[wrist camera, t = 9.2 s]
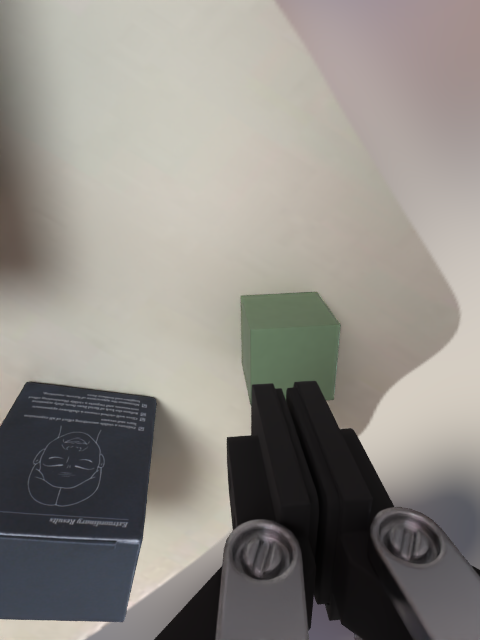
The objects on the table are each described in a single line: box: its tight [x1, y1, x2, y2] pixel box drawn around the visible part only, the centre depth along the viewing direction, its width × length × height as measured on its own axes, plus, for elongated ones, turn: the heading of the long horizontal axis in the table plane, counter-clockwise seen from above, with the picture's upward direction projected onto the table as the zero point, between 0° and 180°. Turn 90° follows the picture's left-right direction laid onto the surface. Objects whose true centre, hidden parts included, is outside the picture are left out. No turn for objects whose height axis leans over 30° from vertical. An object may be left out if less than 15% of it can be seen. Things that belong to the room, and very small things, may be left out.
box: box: [0, 382, 157, 622], centre depth 23 cm, size 8×6×11 cm
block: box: [241, 292, 341, 404], centre depth 24 cm, size 4×4×4 cm
